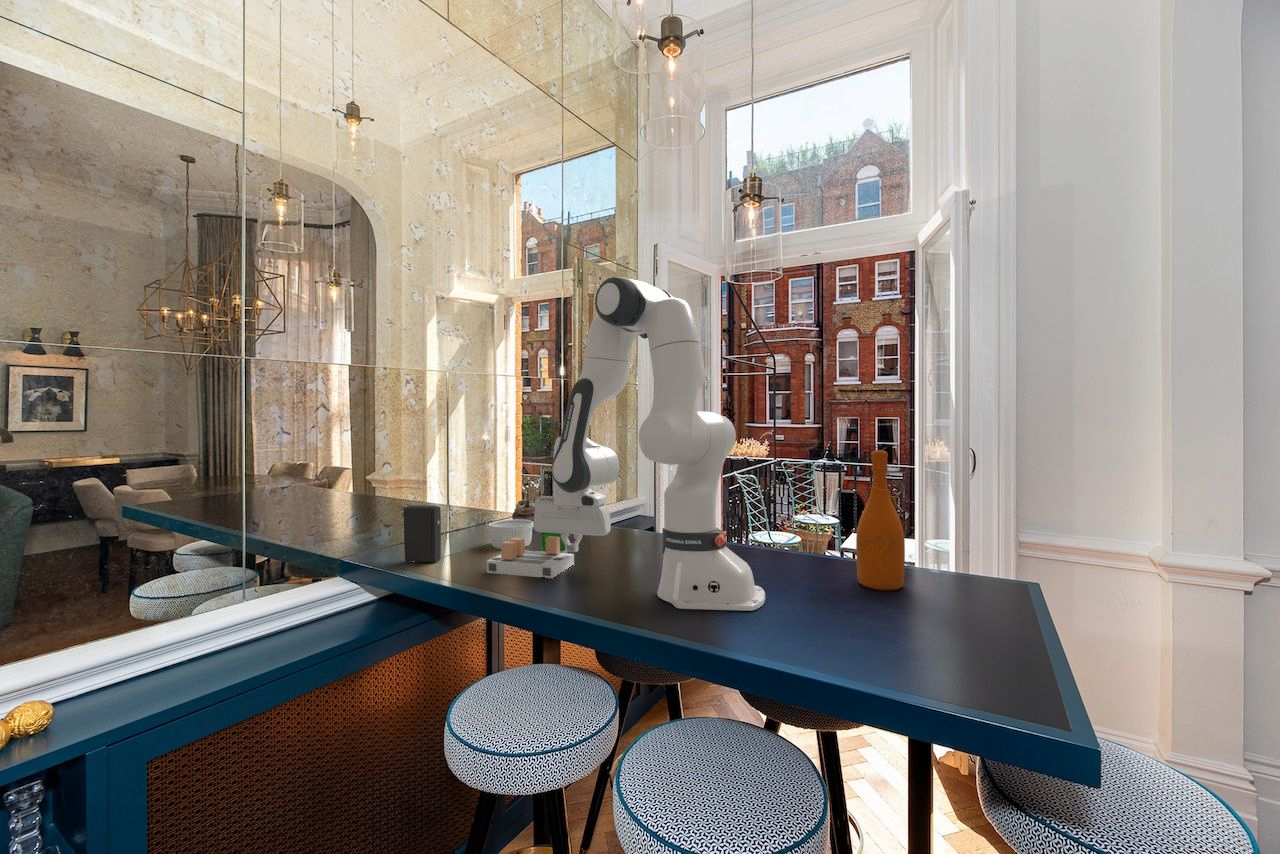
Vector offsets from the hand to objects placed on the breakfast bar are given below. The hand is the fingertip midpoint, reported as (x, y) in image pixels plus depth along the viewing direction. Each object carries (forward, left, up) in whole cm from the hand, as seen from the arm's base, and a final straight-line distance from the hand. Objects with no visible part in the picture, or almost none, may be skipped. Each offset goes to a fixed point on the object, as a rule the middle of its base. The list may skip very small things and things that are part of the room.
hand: (571, 551), depth 138 cm
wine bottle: (-73, -5, -4) cm, 73 cm away
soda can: (+10, -11, -4) cm, 16 cm away
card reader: (+41, +5, -4) cm, 42 cm away
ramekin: (+28, -18, -4) cm, 34 cm away
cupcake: (+36, -41, -4) cm, 55 cm away
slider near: (+13, +8, -1) cm, 16 cm away
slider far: (+5, 0, -1) cm, 5 cm away
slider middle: (+13, +4, -1) cm, 14 cm away
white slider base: (+9, +4, -4) cm, 11 cm away
